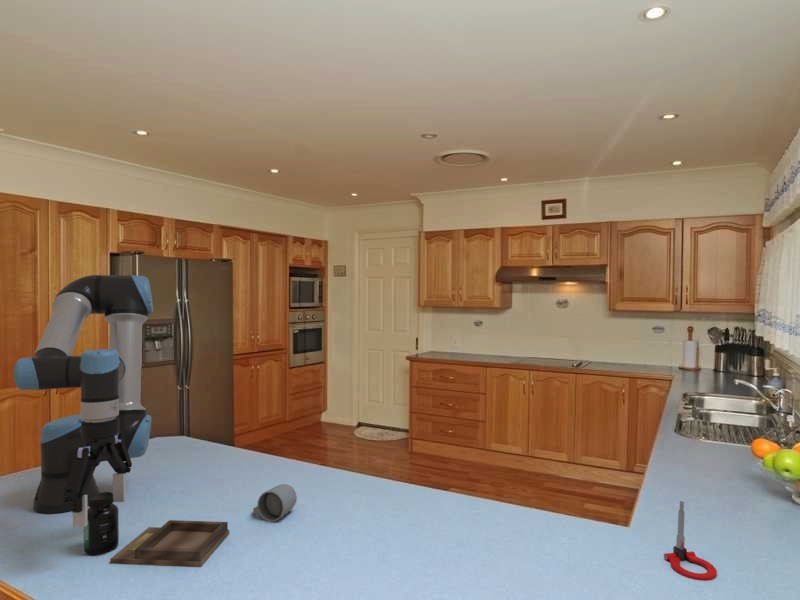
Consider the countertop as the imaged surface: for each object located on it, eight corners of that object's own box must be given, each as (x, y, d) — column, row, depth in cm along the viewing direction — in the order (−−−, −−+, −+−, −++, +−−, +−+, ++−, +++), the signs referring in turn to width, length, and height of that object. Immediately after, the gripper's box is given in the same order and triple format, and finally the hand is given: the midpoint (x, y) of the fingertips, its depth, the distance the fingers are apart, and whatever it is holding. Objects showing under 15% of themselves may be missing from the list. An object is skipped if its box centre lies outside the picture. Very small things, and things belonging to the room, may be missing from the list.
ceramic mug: (298, 510, 139) (298, 481, 139) (283, 523, 131) (283, 493, 131) (263, 506, 142) (262, 478, 142) (246, 519, 134) (245, 489, 134)
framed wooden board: (110, 563, 112) (110, 549, 112) (149, 531, 127) (148, 518, 127) (201, 566, 110) (201, 552, 110) (229, 534, 125) (229, 521, 125)
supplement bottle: (82, 559, 114) (82, 504, 113) (85, 545, 120) (84, 493, 119) (118, 551, 117) (118, 498, 117) (118, 539, 123) (118, 488, 123)
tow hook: (726, 581, 106) (694, 556, 115) (729, 519, 105) (697, 499, 114) (688, 584, 105) (659, 558, 114) (690, 522, 104) (661, 501, 113)
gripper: (78, 432, 105) (78, 538, 105) (147, 407, 130) (147, 492, 130) (42, 432, 105) (43, 537, 105) (118, 407, 130) (118, 492, 130)
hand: (100, 513), depth 118 cm, fingers open, 13 cm apart
